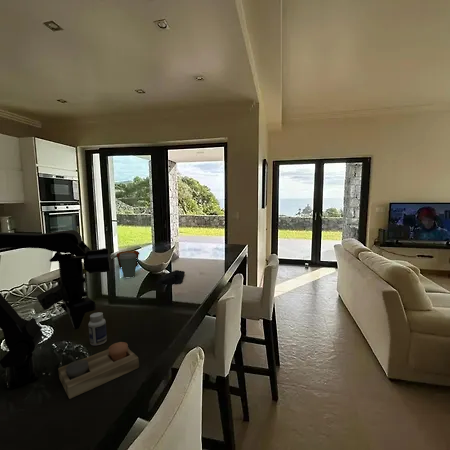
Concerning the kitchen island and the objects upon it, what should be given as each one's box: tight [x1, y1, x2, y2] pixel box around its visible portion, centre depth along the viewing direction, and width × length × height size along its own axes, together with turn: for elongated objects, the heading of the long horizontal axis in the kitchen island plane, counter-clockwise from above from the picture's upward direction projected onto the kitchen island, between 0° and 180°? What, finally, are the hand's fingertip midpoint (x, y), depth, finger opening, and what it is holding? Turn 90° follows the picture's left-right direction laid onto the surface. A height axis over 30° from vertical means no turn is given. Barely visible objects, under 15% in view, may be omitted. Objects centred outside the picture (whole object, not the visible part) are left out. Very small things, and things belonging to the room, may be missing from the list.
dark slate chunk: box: [155, 269, 186, 286], centre depth 167 cm, size 15×22×5 cm
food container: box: [115, 250, 140, 268], centre depth 202 cm, size 16×16×11 cm
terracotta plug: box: [108, 341, 129, 362], centre depth 82 cm, size 5×5×5 cm
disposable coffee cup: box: [119, 253, 137, 278], centre depth 175 cm, size 11×11×15 cm
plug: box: [66, 359, 89, 380], centre depth 74 cm, size 5×5×5 cm
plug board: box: [57, 348, 140, 400], centre depth 78 cm, size 11×18×3 cm, turn 132°
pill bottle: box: [88, 311, 108, 346], centre depth 95 cm, size 5×5×10 cm
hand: (76, 328), depth 80 cm, fingers closed
